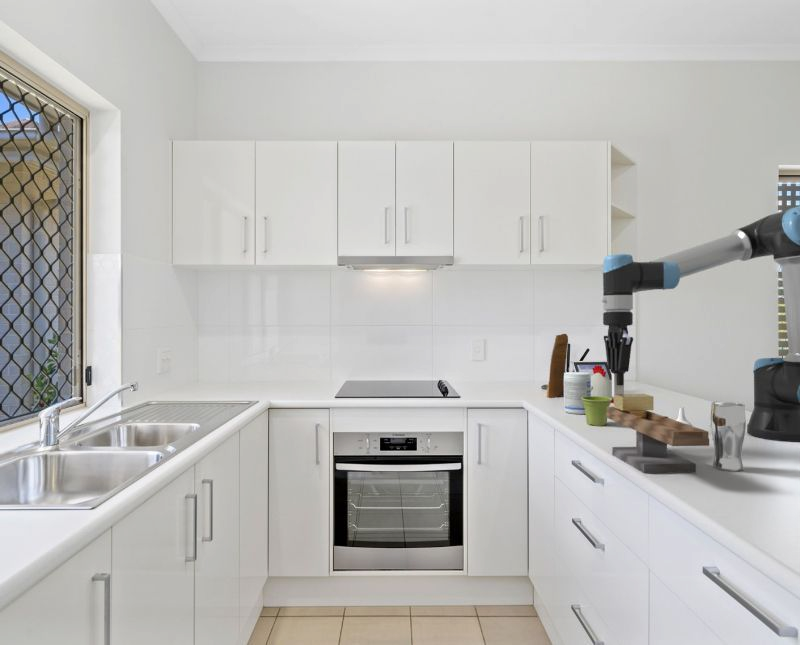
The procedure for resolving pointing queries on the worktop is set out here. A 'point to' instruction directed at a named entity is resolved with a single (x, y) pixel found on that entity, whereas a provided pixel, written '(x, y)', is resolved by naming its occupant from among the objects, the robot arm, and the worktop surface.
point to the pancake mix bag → (557, 367)
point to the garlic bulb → (682, 417)
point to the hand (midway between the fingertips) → (617, 396)
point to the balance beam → (657, 442)
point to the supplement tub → (576, 391)
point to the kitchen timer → (601, 383)
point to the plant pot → (596, 409)
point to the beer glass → (728, 434)
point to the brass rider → (634, 403)
